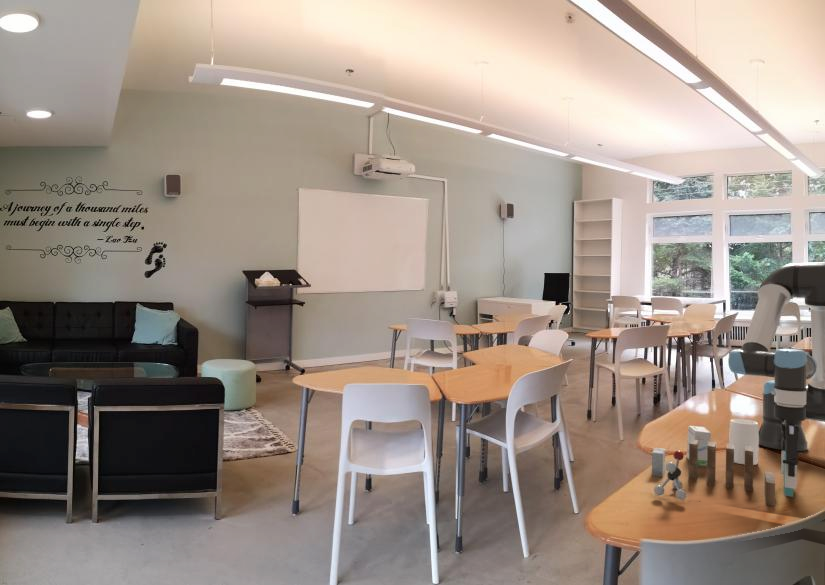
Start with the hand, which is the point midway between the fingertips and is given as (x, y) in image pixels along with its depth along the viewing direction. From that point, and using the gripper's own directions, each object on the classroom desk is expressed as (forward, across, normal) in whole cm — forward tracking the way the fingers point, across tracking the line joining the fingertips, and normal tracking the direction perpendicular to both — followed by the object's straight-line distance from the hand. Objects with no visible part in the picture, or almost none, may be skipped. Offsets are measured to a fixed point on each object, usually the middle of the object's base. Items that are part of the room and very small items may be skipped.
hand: (788, 480), depth 163 cm
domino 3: (+3, 0, -14) cm, 15 cm away
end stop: (+3, 0, -34) cm, 34 cm away
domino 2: (+3, 0, -19) cm, 19 cm away
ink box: (+4, -17, -24) cm, 29 cm away
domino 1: (+3, 0, -24) cm, 24 cm away
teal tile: (+3, 0, 0) cm, 3 cm away
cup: (+4, -24, -11) cm, 27 cm away
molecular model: (+3, +17, -28) cm, 33 cm away
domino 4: (+3, 0, -10) cm, 10 cm away
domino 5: (0, +3, -5) cm, 6 cm away
